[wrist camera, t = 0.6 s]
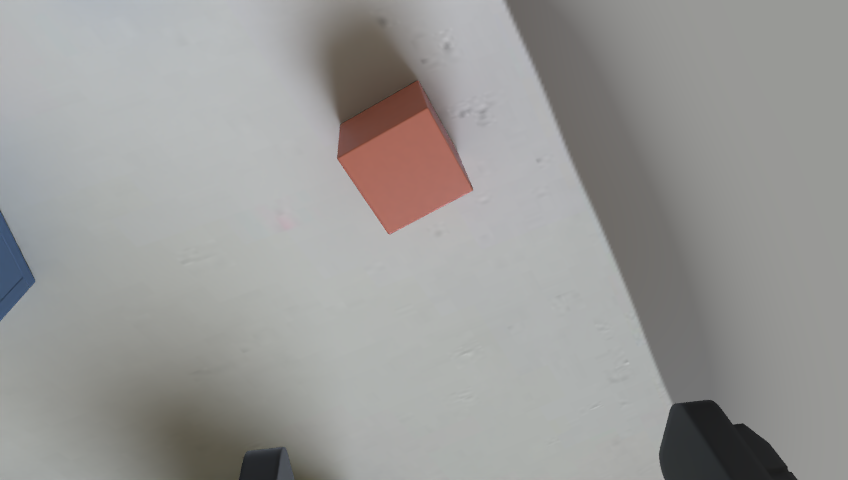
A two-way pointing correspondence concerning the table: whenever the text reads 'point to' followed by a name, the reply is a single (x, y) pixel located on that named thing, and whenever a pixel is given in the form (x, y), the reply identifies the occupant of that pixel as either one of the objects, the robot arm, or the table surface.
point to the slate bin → (11, 271)
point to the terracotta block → (402, 158)
